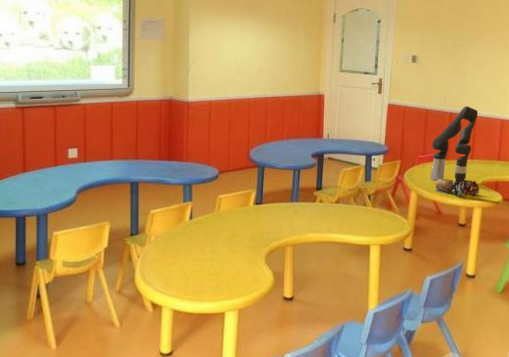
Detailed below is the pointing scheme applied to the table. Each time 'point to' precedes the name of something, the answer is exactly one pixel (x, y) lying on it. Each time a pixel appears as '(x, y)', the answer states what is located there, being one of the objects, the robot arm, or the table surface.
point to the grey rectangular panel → (444, 191)
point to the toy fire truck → (468, 186)
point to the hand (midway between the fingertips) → (458, 194)
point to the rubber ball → (459, 192)
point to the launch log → (444, 185)
